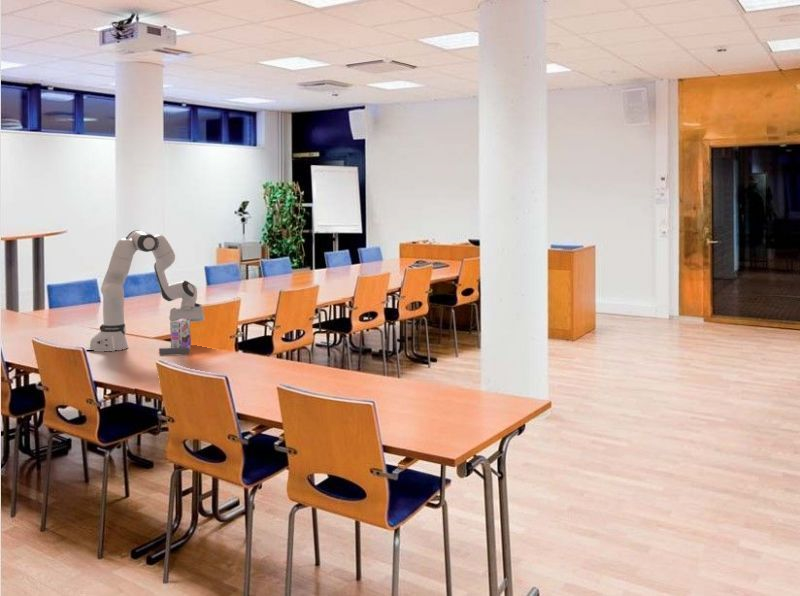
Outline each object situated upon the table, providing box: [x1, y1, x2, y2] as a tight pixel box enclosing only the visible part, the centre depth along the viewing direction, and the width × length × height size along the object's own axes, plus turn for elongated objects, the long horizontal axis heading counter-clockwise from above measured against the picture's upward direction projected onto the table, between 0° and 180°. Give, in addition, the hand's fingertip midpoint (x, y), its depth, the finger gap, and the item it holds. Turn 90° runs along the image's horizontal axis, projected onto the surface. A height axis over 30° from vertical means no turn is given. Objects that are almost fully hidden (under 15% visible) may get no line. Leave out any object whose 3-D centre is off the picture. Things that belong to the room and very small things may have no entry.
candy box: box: [169, 319, 192, 348], centre depth 425 cm, size 14×6×16 cm, turn 170°
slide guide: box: [158, 344, 192, 355], centre depth 417 cm, size 16×19×4 cm
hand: (185, 326), depth 441 cm, fingers closed
